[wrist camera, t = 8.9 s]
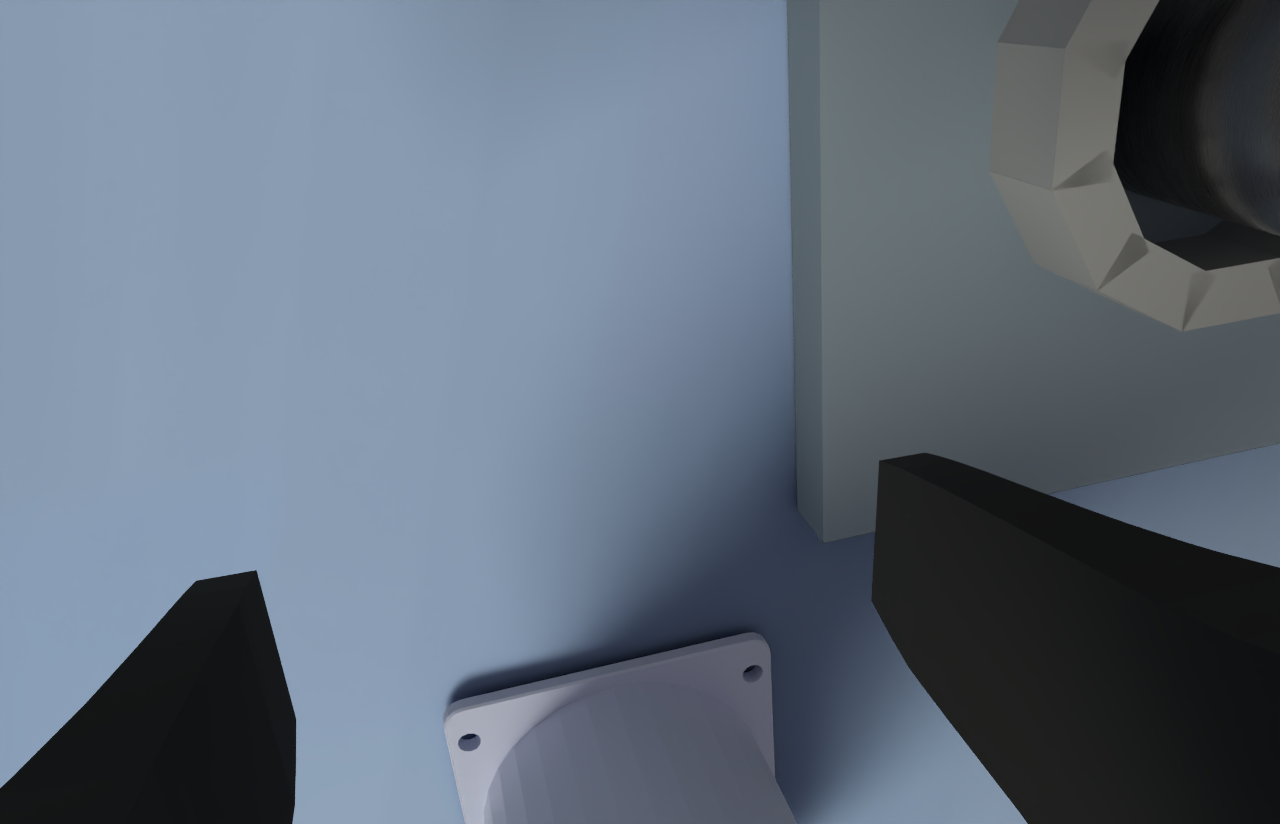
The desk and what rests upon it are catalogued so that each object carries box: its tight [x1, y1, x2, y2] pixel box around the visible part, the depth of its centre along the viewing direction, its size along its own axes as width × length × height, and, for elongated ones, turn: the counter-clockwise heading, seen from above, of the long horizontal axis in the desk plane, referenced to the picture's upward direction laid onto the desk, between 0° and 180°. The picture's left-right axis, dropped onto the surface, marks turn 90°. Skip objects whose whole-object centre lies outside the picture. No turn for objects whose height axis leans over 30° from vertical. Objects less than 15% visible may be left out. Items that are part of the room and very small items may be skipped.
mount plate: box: [787, 0, 1280, 543], centre depth 19 cm, size 18×16×4 cm
